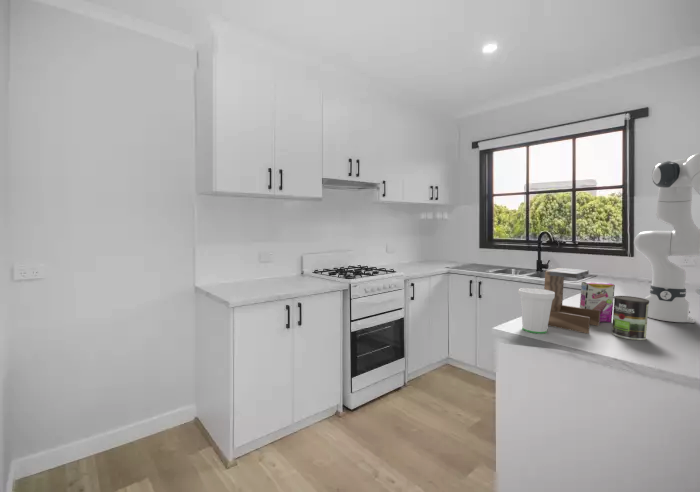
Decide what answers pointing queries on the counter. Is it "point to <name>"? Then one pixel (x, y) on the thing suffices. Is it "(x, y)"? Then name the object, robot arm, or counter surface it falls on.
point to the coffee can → (630, 317)
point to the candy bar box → (598, 298)
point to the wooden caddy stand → (565, 314)
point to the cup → (535, 309)
